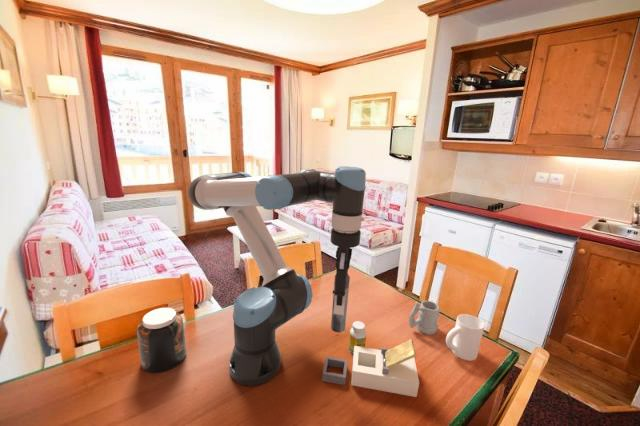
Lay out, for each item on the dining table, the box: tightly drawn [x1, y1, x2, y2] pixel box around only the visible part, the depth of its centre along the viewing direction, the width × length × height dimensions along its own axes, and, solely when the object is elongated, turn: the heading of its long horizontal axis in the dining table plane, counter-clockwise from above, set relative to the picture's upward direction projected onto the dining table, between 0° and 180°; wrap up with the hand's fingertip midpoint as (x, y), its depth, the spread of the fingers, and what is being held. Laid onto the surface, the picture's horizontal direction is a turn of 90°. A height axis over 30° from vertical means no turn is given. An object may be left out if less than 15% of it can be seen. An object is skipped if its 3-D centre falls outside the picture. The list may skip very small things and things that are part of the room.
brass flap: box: [383, 339, 417, 368], centre depth 81 cm, size 10×6×1 cm
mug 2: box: [445, 313, 485, 362], centre depth 93 cm, size 8×12×12 cm
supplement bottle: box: [348, 320, 367, 355], centre depth 93 cm, size 5×5×10 cm
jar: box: [136, 307, 187, 374], centre depth 84 cm, size 12×12×15 cm
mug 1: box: [408, 300, 440, 336], centre depth 104 cm, size 8×12×12 cm, turn 105°
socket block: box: [350, 346, 420, 398], centre depth 83 cm, size 18×10×7 cm, turn 80°
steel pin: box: [330, 274, 351, 334], centre depth 78 cm, size 4×4×16 cm
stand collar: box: [321, 356, 348, 386], centre depth 84 cm, size 7×7×2 cm
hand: (339, 308), depth 78 cm, fingers closed on steel pin, 4 cm apart
